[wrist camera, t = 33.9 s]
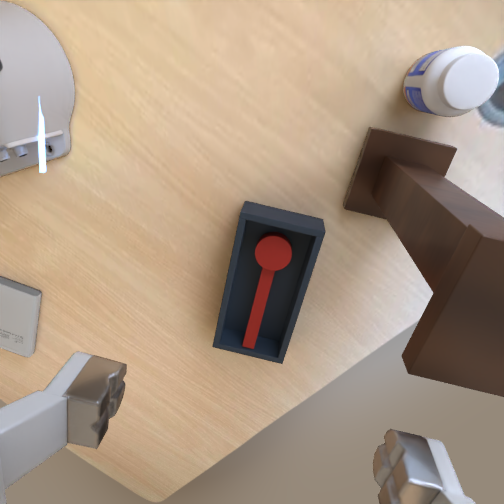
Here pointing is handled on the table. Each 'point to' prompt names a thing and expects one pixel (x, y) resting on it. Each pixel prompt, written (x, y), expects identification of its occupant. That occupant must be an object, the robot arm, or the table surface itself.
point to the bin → (283, 284)
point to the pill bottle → (451, 81)
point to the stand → (440, 257)
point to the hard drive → (18, 317)
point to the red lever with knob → (266, 278)
